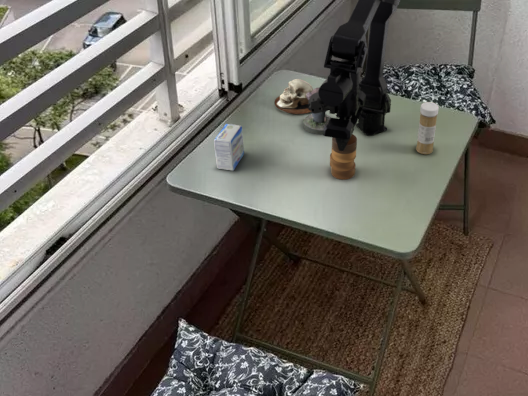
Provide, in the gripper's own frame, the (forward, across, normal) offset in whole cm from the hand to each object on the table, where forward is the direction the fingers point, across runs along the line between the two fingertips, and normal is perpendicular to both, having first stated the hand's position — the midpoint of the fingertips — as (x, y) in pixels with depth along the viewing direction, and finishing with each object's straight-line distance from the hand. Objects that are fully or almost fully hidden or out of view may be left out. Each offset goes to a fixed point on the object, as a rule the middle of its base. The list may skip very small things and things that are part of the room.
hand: (344, 143), depth 165 cm
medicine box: (+9, +3, -28) cm, 30 cm away
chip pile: (+8, 0, 0) cm, 8 cm away
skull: (+9, -29, -20) cm, 36 cm away
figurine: (+9, -20, -11) cm, 24 cm away
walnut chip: (+1, 0, 0) cm, 1 cm away
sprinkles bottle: (+9, -16, +18) cm, 26 cm away
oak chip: (+4, 0, 0) cm, 4 cm away
